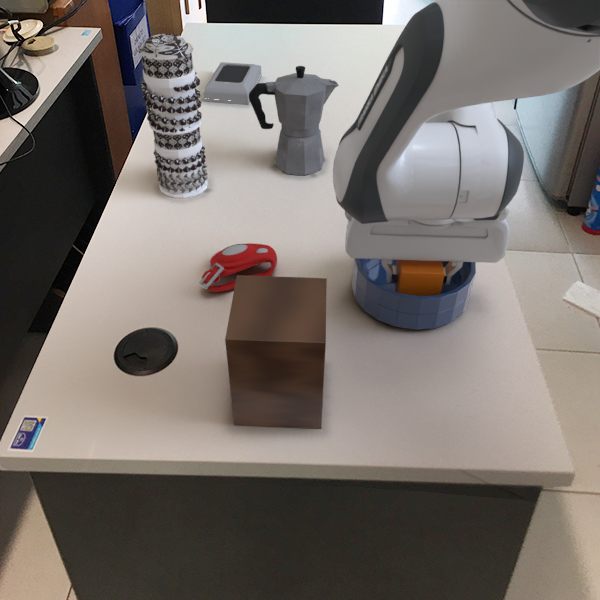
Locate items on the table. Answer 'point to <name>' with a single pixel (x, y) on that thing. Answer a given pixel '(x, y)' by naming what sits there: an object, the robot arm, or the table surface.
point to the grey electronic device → (232, 83)
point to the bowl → (410, 297)
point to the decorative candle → (174, 114)
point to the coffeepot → (296, 119)
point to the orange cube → (419, 277)
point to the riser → (277, 351)
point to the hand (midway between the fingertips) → (417, 280)
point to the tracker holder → (237, 264)
